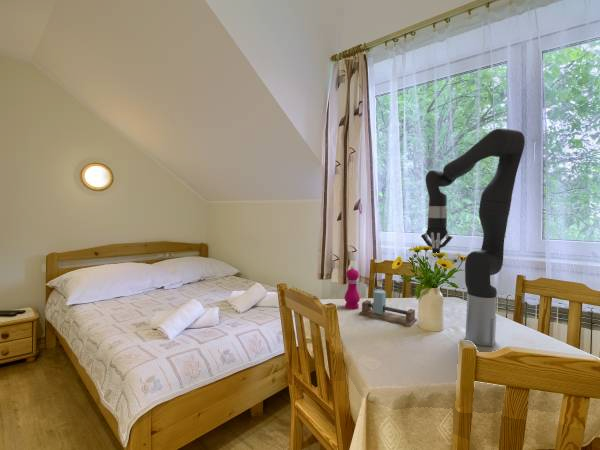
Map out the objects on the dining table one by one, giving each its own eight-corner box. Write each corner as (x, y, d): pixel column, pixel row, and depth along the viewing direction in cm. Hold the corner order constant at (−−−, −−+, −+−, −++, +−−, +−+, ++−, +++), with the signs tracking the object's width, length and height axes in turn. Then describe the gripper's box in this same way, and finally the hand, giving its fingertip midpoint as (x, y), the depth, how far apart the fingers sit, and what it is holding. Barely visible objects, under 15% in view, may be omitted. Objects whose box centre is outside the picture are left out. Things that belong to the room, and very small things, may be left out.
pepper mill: (360, 309, 152) (361, 267, 150) (345, 309, 152) (345, 267, 151) (358, 305, 159) (359, 264, 158) (343, 304, 159) (344, 264, 158)
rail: (416, 321, 138) (417, 308, 137) (410, 326, 131) (410, 313, 131) (367, 310, 152) (367, 298, 151) (359, 314, 145) (359, 302, 145)
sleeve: (385, 312, 144) (385, 291, 143) (381, 314, 141) (382, 293, 140) (377, 310, 147) (377, 290, 146) (373, 312, 143) (373, 292, 143)
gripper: (455, 217, 138) (454, 257, 139) (424, 216, 146) (422, 254, 147) (451, 217, 132) (450, 259, 133) (418, 216, 140) (417, 256, 141)
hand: (435, 256), depth 140 cm, fingers closed
